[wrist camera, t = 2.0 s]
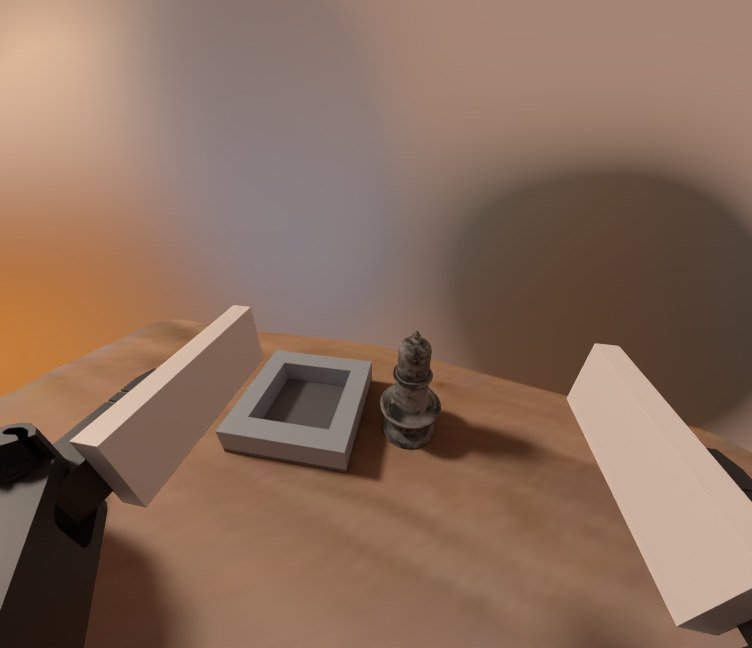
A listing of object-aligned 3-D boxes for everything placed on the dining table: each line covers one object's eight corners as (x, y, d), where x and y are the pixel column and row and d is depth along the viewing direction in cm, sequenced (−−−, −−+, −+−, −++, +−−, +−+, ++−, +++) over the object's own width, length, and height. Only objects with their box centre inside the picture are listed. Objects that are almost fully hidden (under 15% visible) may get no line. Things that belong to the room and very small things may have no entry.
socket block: (371, 380, 36) (371, 361, 35) (346, 473, 26) (344, 452, 25) (280, 368, 38) (276, 350, 36) (224, 451, 28) (215, 431, 27)
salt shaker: (438, 410, 32) (454, 317, 26) (434, 458, 28) (452, 359, 21) (386, 400, 34) (388, 309, 27) (373, 445, 29) (373, 347, 22)
